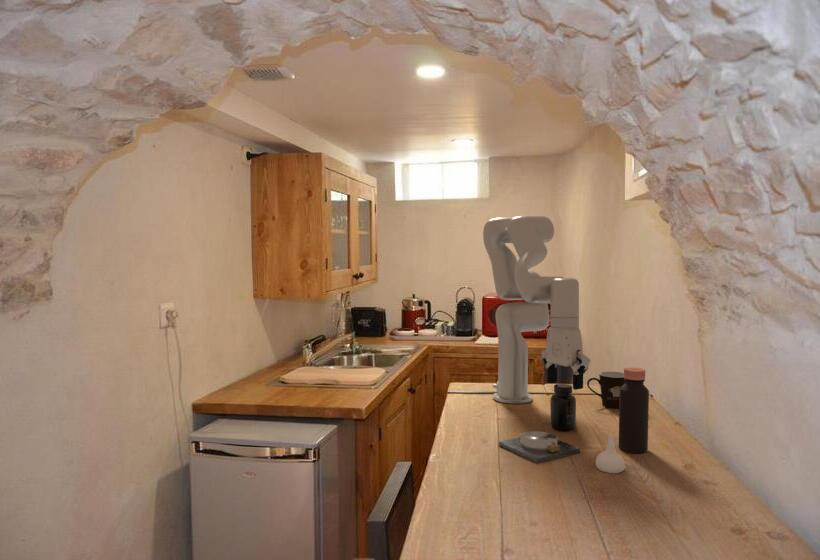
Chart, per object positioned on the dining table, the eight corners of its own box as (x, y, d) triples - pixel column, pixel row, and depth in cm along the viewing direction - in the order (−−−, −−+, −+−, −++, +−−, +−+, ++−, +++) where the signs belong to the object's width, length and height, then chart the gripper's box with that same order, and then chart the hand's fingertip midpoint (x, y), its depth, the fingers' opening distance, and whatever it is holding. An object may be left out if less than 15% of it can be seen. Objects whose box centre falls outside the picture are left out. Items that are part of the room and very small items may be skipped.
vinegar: (650, 447, 149) (652, 368, 148) (644, 455, 143) (646, 373, 142) (622, 442, 153) (623, 365, 151) (615, 450, 147) (616, 370, 146)
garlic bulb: (600, 476, 132) (602, 442, 131) (591, 463, 138) (592, 431, 137) (628, 476, 132) (630, 442, 131) (618, 463, 138) (620, 430, 137)
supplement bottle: (573, 425, 168) (574, 382, 167) (577, 432, 161) (578, 388, 160) (548, 424, 168) (549, 382, 167) (552, 432, 161) (552, 388, 161)
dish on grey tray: (498, 445, 151) (498, 433, 151) (540, 436, 158) (540, 425, 158) (536, 463, 139) (536, 450, 139) (579, 452, 146) (580, 440, 145)
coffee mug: (630, 404, 188) (630, 373, 188) (624, 411, 181) (625, 378, 180) (592, 399, 194) (593, 369, 194) (585, 406, 187) (586, 374, 186)
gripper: (532, 321, 168) (532, 381, 169) (578, 327, 153) (578, 393, 154) (552, 319, 172) (552, 378, 172) (599, 325, 157) (599, 389, 157)
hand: (564, 385), depth 163 cm, fingers open, 9 cm apart
